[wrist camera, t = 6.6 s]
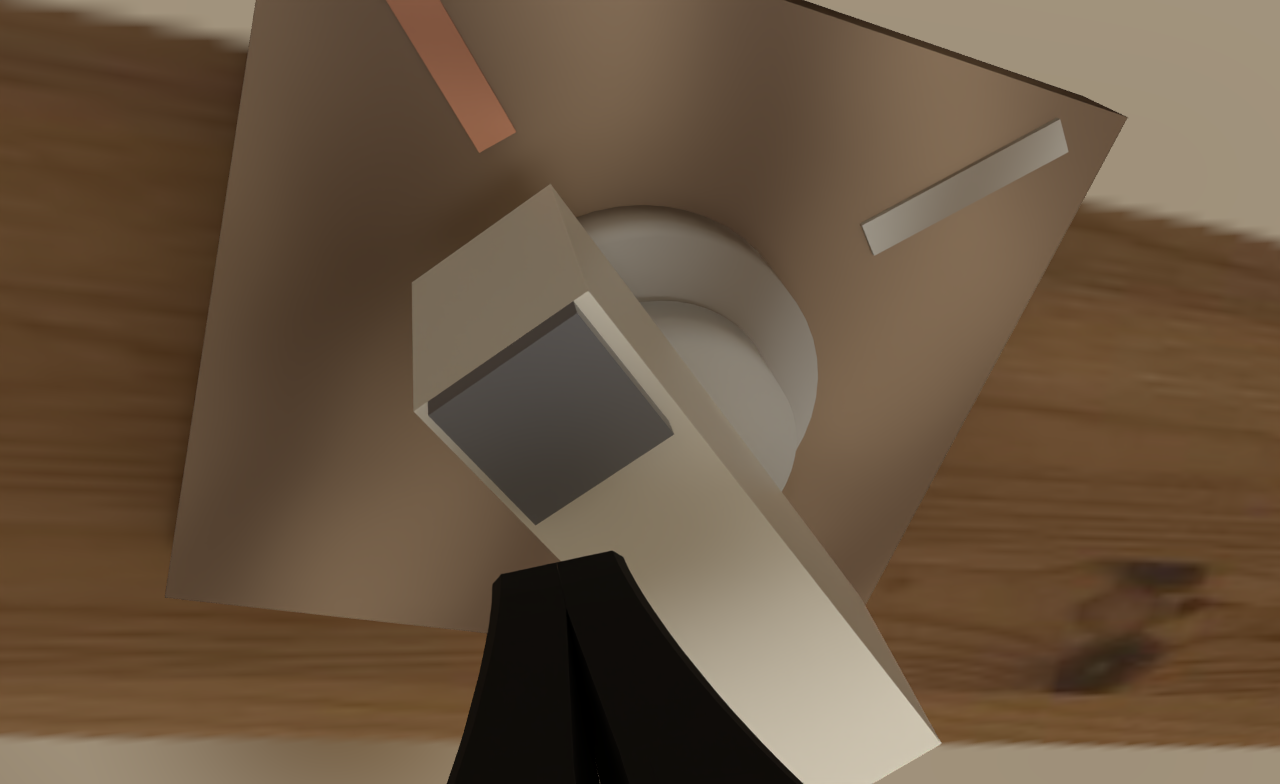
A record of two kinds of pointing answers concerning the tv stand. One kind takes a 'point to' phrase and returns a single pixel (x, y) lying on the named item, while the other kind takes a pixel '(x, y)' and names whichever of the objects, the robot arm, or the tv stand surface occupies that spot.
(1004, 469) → the tv stand surface
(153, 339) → the tv stand surface
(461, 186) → the base
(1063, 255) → the tv stand surface
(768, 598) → the lock handle
